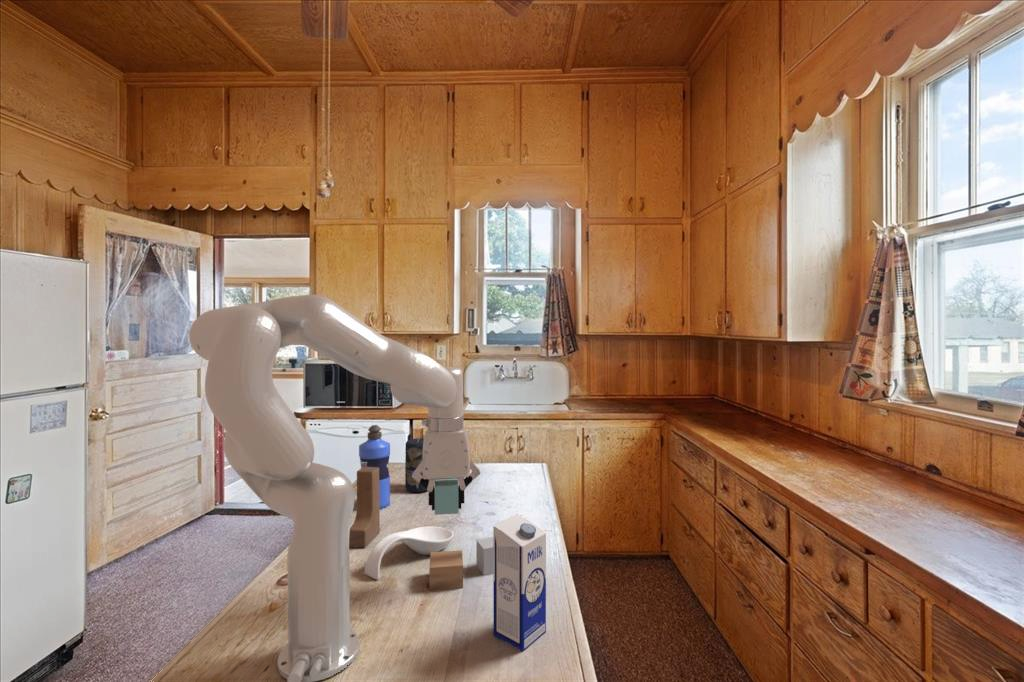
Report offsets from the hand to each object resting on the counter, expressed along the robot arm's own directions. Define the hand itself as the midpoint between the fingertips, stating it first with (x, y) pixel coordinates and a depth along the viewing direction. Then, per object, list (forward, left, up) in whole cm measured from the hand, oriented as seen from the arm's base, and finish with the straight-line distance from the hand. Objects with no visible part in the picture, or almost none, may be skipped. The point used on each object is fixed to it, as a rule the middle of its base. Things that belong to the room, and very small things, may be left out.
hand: (446, 506), depth 102 cm
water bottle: (+48, +22, -16) cm, 55 cm away
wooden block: (+23, +21, -16) cm, 35 cm away
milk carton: (-20, -13, -16) cm, 29 cm away
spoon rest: (+12, +8, -17) cm, 22 cm away
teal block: (0, 0, -1) cm, 1 cm away
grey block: (+4, -10, -16) cm, 19 cm away
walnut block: (0, 0, -16) cm, 16 cm away
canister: (+61, +9, -16) cm, 64 cm away
